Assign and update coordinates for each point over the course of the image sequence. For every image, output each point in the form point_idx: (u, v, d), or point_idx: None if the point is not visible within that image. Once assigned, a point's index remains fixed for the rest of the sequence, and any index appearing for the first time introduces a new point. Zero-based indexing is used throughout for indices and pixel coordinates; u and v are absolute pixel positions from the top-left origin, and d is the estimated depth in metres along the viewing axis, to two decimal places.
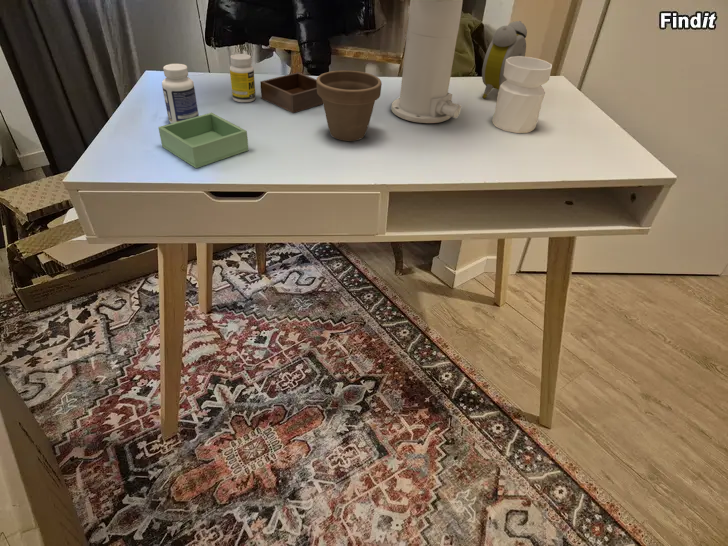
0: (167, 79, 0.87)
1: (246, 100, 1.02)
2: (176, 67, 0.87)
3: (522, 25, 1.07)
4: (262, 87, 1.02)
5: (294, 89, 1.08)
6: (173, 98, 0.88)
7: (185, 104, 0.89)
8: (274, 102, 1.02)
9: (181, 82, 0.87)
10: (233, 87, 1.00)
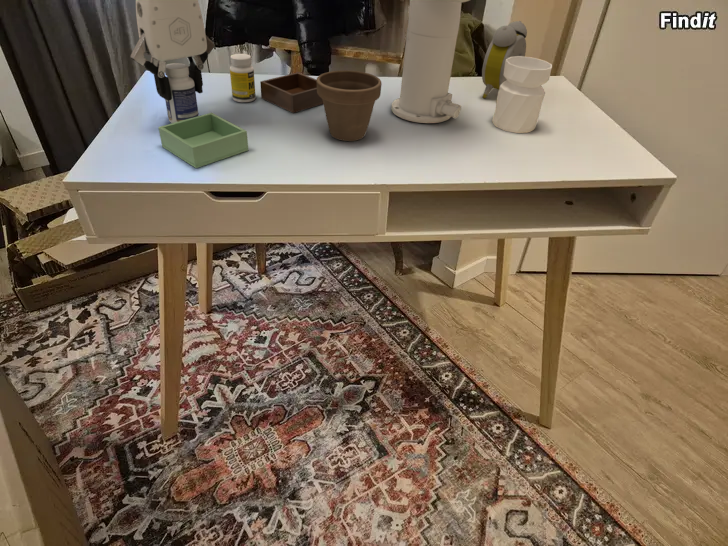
0: None
1: (246, 100, 1.02)
2: (177, 66, 0.87)
3: (522, 25, 1.07)
4: (262, 87, 1.02)
5: (294, 89, 1.08)
6: (174, 97, 0.88)
7: (186, 103, 0.89)
8: (274, 102, 1.02)
9: (182, 81, 0.87)
10: (233, 87, 1.00)
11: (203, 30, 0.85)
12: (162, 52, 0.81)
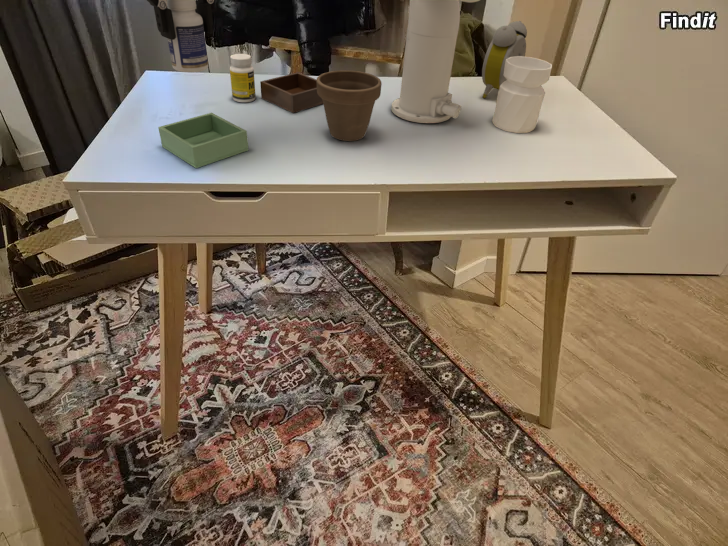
0: None
1: (246, 100, 1.02)
2: None
3: (522, 25, 1.07)
4: (262, 87, 1.02)
5: (294, 89, 1.08)
6: (178, 36, 0.72)
7: (193, 44, 0.73)
8: (274, 102, 1.02)
9: (188, 16, 0.72)
10: (233, 87, 1.00)
11: None
12: None
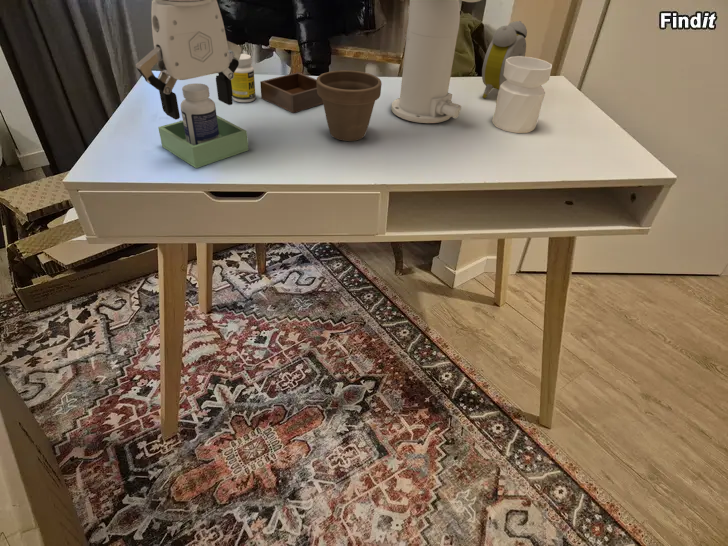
0: (186, 101, 0.79)
1: (246, 100, 1.02)
2: (196, 88, 0.78)
3: (522, 25, 1.07)
4: (262, 87, 1.02)
5: (294, 89, 1.08)
6: (193, 122, 0.79)
7: (206, 128, 0.80)
8: (274, 102, 1.02)
9: (202, 105, 0.78)
10: (233, 87, 1.00)
11: (226, 45, 0.76)
12: (181, 70, 0.72)
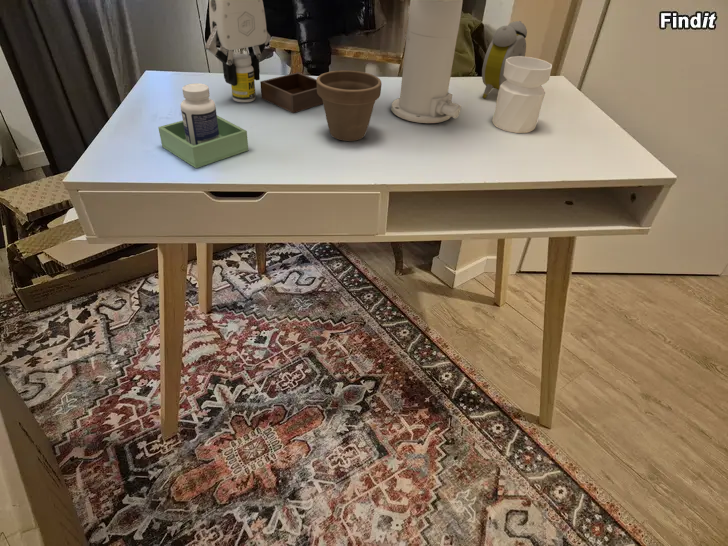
0: (186, 101, 0.79)
1: (246, 100, 1.02)
2: (197, 88, 0.78)
3: (522, 25, 1.07)
4: (262, 87, 1.02)
5: (294, 89, 1.08)
6: (193, 122, 0.79)
7: (206, 128, 0.80)
8: (274, 102, 1.02)
9: (202, 105, 0.78)
10: (233, 87, 1.00)
11: (264, 23, 0.96)
12: (231, 42, 0.92)
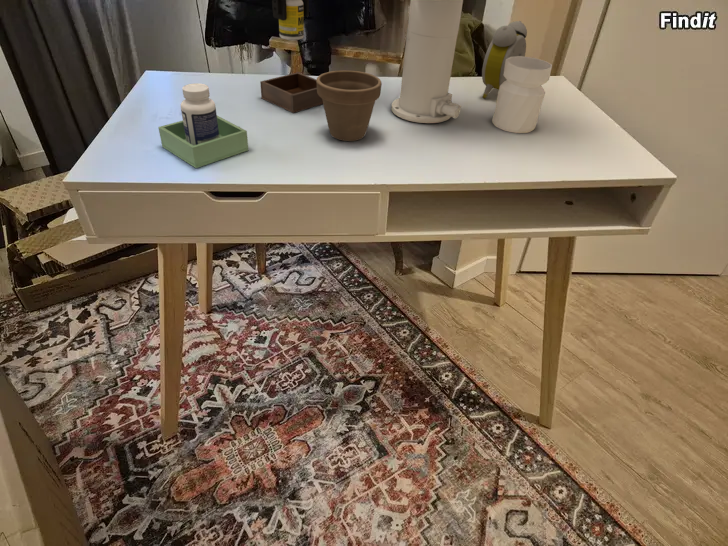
0: (186, 101, 0.79)
1: (295, 37, 0.95)
2: (197, 88, 0.78)
3: (522, 25, 1.07)
4: (262, 87, 1.02)
5: (294, 89, 1.08)
6: (193, 122, 0.79)
7: (206, 128, 0.80)
8: (274, 102, 1.02)
9: (202, 105, 0.78)
10: (281, 23, 0.94)
11: None
12: None
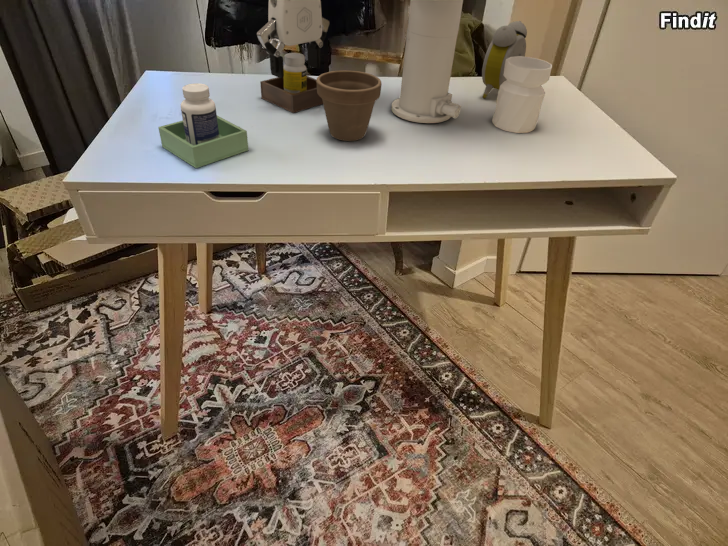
0: (186, 101, 0.79)
1: None
2: (197, 88, 0.78)
3: (522, 25, 1.07)
4: (262, 87, 1.02)
5: None
6: (193, 122, 0.79)
7: (206, 128, 0.80)
8: (274, 102, 1.02)
9: (202, 105, 0.78)
10: (286, 86, 1.01)
11: (321, 18, 0.96)
12: (289, 38, 0.93)
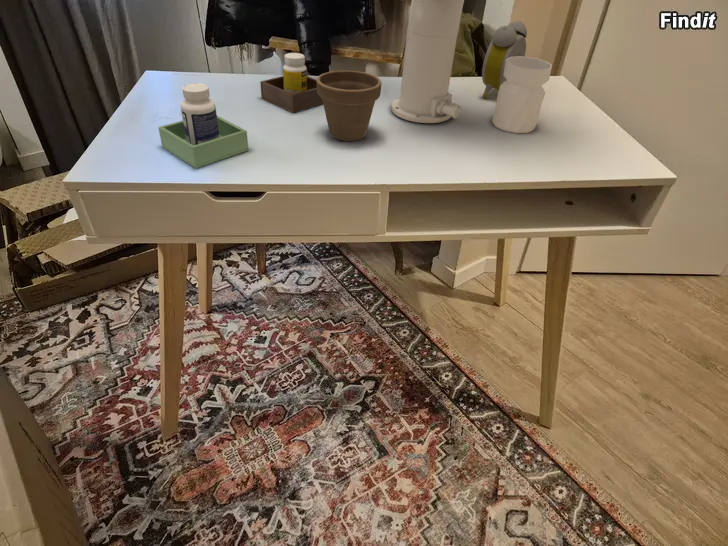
0: (186, 101, 0.79)
1: None
2: (197, 88, 0.78)
3: (522, 25, 1.07)
4: (262, 87, 1.02)
5: None
6: (193, 122, 0.79)
7: (206, 128, 0.80)
8: (274, 102, 1.02)
9: (202, 105, 0.78)
10: (286, 86, 1.01)
11: None
12: None
